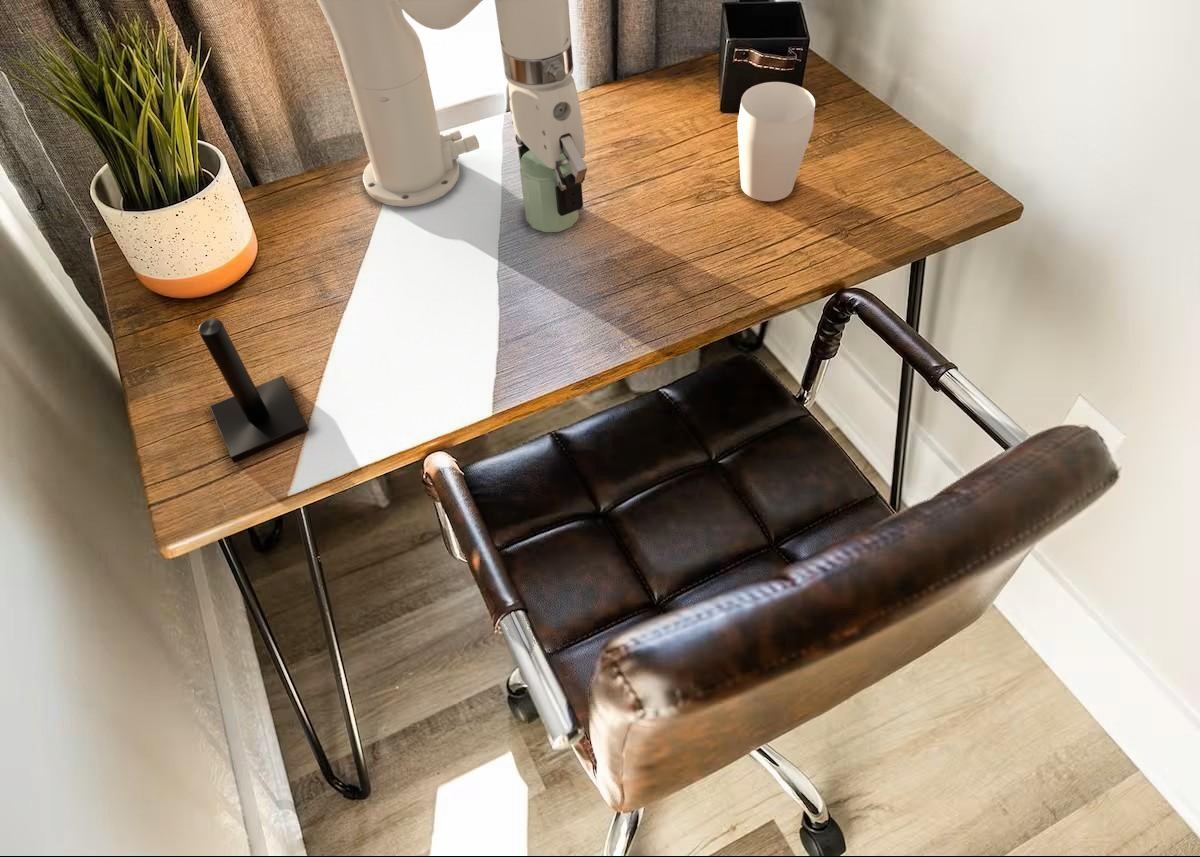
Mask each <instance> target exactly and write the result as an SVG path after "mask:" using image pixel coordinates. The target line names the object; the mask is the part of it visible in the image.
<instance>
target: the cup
mask: <svg viewBox="0 0 1200 857" xmlns="http://www.w3.org/2000/svg"><path fill="white" fill-rule="evenodd" d="M815 110H816V100H815V97H814V96H813V95H812V93H811V92H809V91H808V90H807V89H805V88H804V87H802V86H799V85H797V84H793V83H790V82H785V81H767V82H763V83H759V84H755V85H753V86H751V87H750V88H748V89H746V90H745V91H744V93H743V94H742V96H741V99H740V104H739V112H738V116H737V127H736V128H737V142H738V143H737V144H738V159H739V174H740V175H739V176H740V177H739V178H740V187H741V188H740V189H741V190H742V191H743V192H744V194H745V195H746V196H748V197H749V198H751V199H754V200H756V201H761V202H776V201H780V200H783V199H785V198H787V197H788V196H789V195H790V194H791V193H792V192H793V189H794V186H795V184H796V181H797V177H798V175H799V171H800V168H801V166H802V163H803V159H804V157H805V154H806V150H807V148H808V145H809V142H810V138H811V136H812V132H813V129H814V119H815Z"/></svg>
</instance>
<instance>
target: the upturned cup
mask: <svg viewBox="0 0 1200 857" xmlns="http://www.w3.org/2000/svg"><path fill="white" fill-rule="evenodd" d="M563 159H566V157H565V155H564V153H562V154H560V155H559V159H558V161H561V160H563ZM558 161H556V162H558ZM560 169H561V172H562V175H563V177H564V178H565V177H566V176H567V175H569V174H571V172H570V171H571V167H570V164H569V163H568V164H566V165H563V166H561V167H560ZM519 174H520V181H521V190H522V197H523V207H524V212H525V220H526V222H527V223H528V224H529V225H530V227H531V228H532V229H534V230H537V231H540V232H542V233H560V232H563V231H565V230H567V229H569V228H572V227H573V226H574V224H576V222H577V221H578V220H579V217H580V216H579V212H580V209H579V210H576V211H574V212H571V213H569V214H566V215H564V216H560V215H559V213H558V210H557V200H556V190H555V187H556V186H558V183H557V181H556V178H555V175H554V173H553V170H552V169H551V168H549V167H547V166H546V165H544V164H543V163H542V162H541V161H540V160H539V159H538V158H537V156H536V155H535V154H534V153H533V152H532V151H531V150H529V151H528V152H526V153H525V154H524V155H523V156H522V158H521V160H520V159H519Z"/></svg>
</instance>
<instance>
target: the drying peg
mask: <svg viewBox="0 0 1200 857" xmlns="http://www.w3.org/2000/svg"><path fill="white" fill-rule="evenodd" d="M197 331H198V333H199V335H200V337H201V339H202V341H203V343H204V344H205V346H206V348H207V350H208V351H209V353H210V355H211V357H212V358H213V361H214V363H215V364H216V366H217V368H218V370H219V371H220V373H221V376H222V377H223V379H224V380H225V382H226V384H227V386H228V387H229V389H230V391H231V393H232V395H233V396H231V397H228V398H226V399H223V400H221V401H219V402H216V403H214V404H211V405H210V406H209V408H210V411H211V414H212V416H213V419H214V420H215V423H216V426H217V428H218V431H219V434H220V436H221V438H222V440H223V443H224V446H225V448H226V450H227V452H228V455H229V457H230V459H231V461H232V462H233V464H236V463H239V462H240V461H243V460H246V459H247V458H250V457H253V456H254V455H256V454H259V453H261V452H264V451H266V450H268V449H270V448H273V447H275V446H277V445H280V444H282V443H284V442H286V441H288V440H291V439H293V438H296V437H297V436H300V435H302V434H304V433H307V432H309V431H310V428H309V426H308V424H307V422H306V420H305V418H304V416H303V414H302V412H301V410H300V408H299V405H298V403H297V402H296V400H295V398H294V396H293V393H292V391H291V389H290V388H289V385H288V383H287V381H286V379H285V377H284V376H283V375H281V376H279V377H276V378H274V379H271V380H269V381H267V382H266V381H265V382H264V383H262V384H260V385H257V386H255V383H254V381H253V379H252V378H251V375H250V374H249V372H248V370H247V368H246V366H245V364H244V363H243V360H242V359H241V356H240V354H239V352H238V351H237V349H236V346H235V345H234V343H233V341H232V339H231V337H230V335H229V333H228V331H227V329H226V328H225V325H224V324H223V322H222V320H220V319H218V318H208V319H206V320H204V321H203V322H201V323H200V324H199V325H198V329H197Z"/></svg>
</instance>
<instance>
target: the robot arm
mask: <svg viewBox="0 0 1200 857" xmlns="http://www.w3.org/2000/svg"><path fill="white" fill-rule="evenodd" d="M316 2H317V3H318V4H317V5H319V6H318V7H319V8H320V9H321V11H322V14H323V15H324V18H325V19H326V22H327V24H328V26H329V29H330V31H331V33H332V36H333V38H334V41H335V44H336V47H337V51H338V53H339V56H340V60H341V63H342V67H343V71H344V74H345V78H346V80H347V83H348V87H349V91H350V94H351V99H352V102H353V105H354V109H355V112H356V116H357V119H358V123H359V127H360V130H361V135H362V137H363V140H364V145H365V148H366V152H367V155H368V159H369V162H368V164H367V165H366V166H365V168H364V170H363V174H362V182H363V184H364V188H365V190H366V192H367V194H368V195H369V197H371V198H372V199H373V200H375V201H377V202H379V203H381V204H383V205H384V204H385V205H387V206H393V207H403V208H406V207H414V206H421V205H425V204H428V203H432V202H433V201H436V200H438V199H440V198H442V197H443V196H445V195H446V194H448V193H449V192H450V191H451V190H452V189H453V188H454V187H455V185H456V184H457V183H458V180H459V178H460V166H459V162H458V160H457V159H459V155H464V154H467V153H470V152H473V151H475V150H478V149H480V143H479V140H478V138H477V136H476V135H475V134H474V133H472V134H471V135H467V136H464V137H463V136H462V133H461V131H460V130H459V129H457V130H454V131H451V132H449V133H448V134H445V135H443V134H441V132H440V127H439V121H438V118H437V112H436V107H435V103H434V98H433V91H432V87H431V82H430V78H429V73H428V68H427V63H426V58H425V54H424V50H423V45H422V42H421V39H420V37H419V35H418V33H417V32H416V30H415V29H414V27H413V26H412V25H411V24H410V23H409V21H408V20H407V19H406V17H405V14H407V15H408V16H409V17H410V18H411V19H412V20H414V21H415V22H416V23H418V24H419V25H421V26H423V27H425V28H428V29H431V30H438V31H442V30H446V29H450V28H453V27H454V26H457V25H458V24H459V23H460V22H461V21H463V20H464V19H465V18H466V17H467V16H468V15H469V14H470V13H471V12H472V11H473V10H475V8H477V6H479V4H481V3H482V2H483V0H316ZM494 4H495V13H496V19H497V27H498V34H499V42H500V48H501V56H502V62H503V69H504V76H505V77H504V78H505V79H506V80H507V85H508V98H509V99H507V103H508V108H509V110H510V115H511V124H512V125H513V129H514V132H515V137H514V138H515V142H516V144H517V145H518V146H517V151H518V158H519V161H520V160H521V158H522V156H523V155H524V154H525V153H526V152H528V151H529V150H531V151H532V152H533V153H534V154H535V155H536V156H537V158H538V159H539V160H540V161H541V162H542V163H543V164H544V165H546V166H547V167H549V168H551V169H552V170H553V173H554V175H555V178H556V181H557V183H558V186H556V187H555V190H556V200H557V210H558V213H559V215H560V216H564V215H566V214H569V213H571V212H574V211H576V210H579V211H580V210H581V209H582V208H583V207H584V200H583V198H584V197H583V183H584V181H585V180H586V174H587V171H588V166H587V165H586V162H585V161H584V158H586V157H585V156H586V144H585V143H586V140H585V132H584V124H583V117H582V110H581V104H580V99H579V94H578V90H577V86H576V82H575V79H574V77H573V72H574V60H573V59H574V58H573V46H572V45H573V44H572V34H571V19H570V3H569V0H494ZM403 11H404V12H403ZM404 13H405V14H404ZM562 153H564V155H565V157H566V159H563V160H561V161H558V159H559V155H560V154H562ZM556 161H558V162H556ZM568 163H569V164H570V167H571V171H570V172H571V174H569V175H567V176H566V177H565V178H564V177H563V175H562V172H561V169H560V167H561V166H563V165H566V164H568Z"/></svg>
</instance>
